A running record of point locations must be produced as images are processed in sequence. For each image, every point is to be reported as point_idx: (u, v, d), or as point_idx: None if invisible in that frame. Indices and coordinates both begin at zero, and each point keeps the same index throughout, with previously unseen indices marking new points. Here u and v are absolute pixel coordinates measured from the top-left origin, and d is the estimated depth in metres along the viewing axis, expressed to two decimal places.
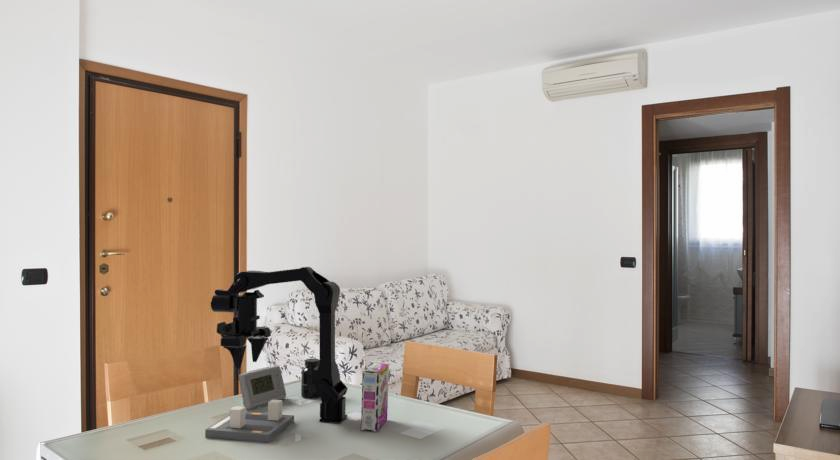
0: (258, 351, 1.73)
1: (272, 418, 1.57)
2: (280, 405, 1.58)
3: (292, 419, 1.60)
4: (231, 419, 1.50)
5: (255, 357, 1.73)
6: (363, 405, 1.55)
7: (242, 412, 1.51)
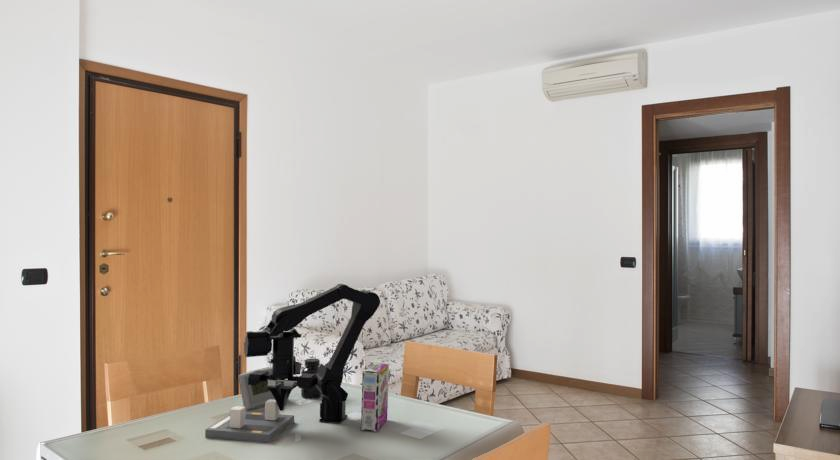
0: None
1: (269, 418, 1.57)
2: (277, 405, 1.58)
3: (292, 419, 1.60)
4: (231, 419, 1.50)
5: None
6: (363, 405, 1.55)
7: (242, 412, 1.51)
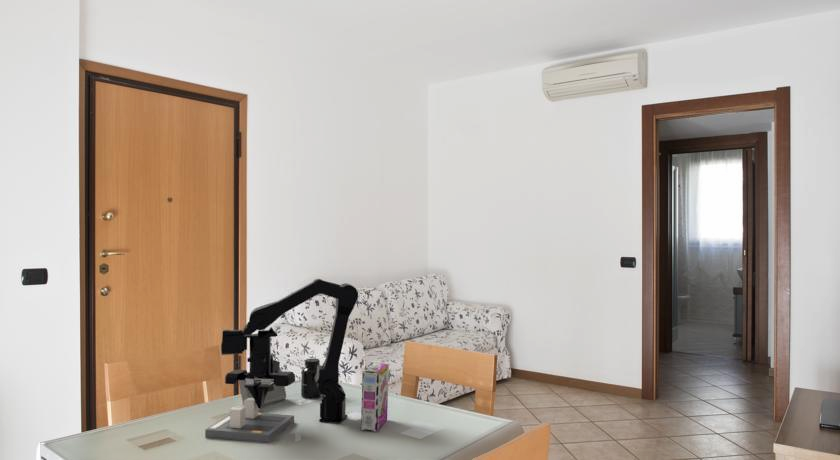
0: None
1: (248, 416, 1.58)
2: None
3: (292, 419, 1.60)
4: (231, 419, 1.50)
5: None
6: (363, 405, 1.55)
7: (242, 412, 1.51)
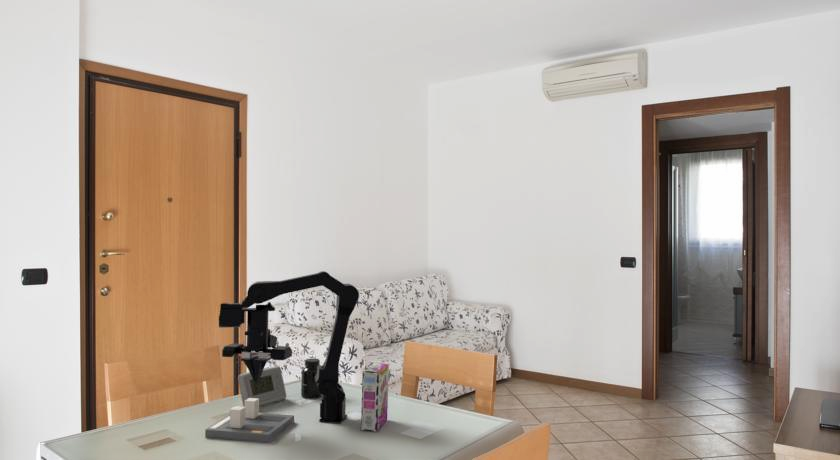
0: None
1: (248, 416, 1.58)
2: (257, 403, 1.59)
3: (292, 419, 1.60)
4: (231, 419, 1.50)
5: None
6: (363, 405, 1.55)
7: (242, 412, 1.51)
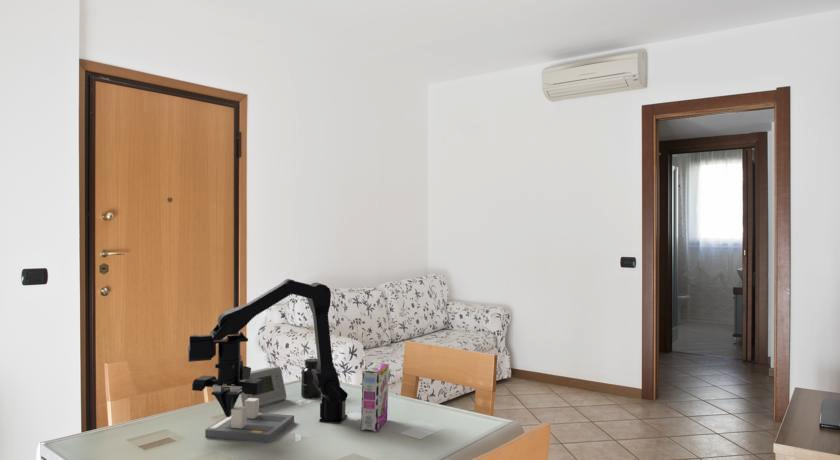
0: None
1: (248, 416, 1.58)
2: (257, 403, 1.59)
3: (292, 419, 1.60)
4: (232, 419, 1.50)
5: None
6: (363, 405, 1.55)
7: (243, 412, 1.51)
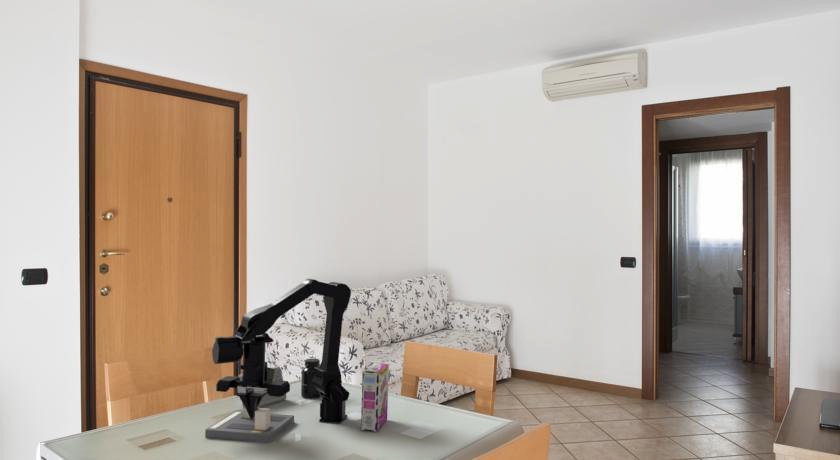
0: None
1: (248, 416, 1.58)
2: None
3: (292, 419, 1.60)
4: (256, 421, 1.49)
5: None
6: (363, 405, 1.55)
7: (267, 414, 1.50)
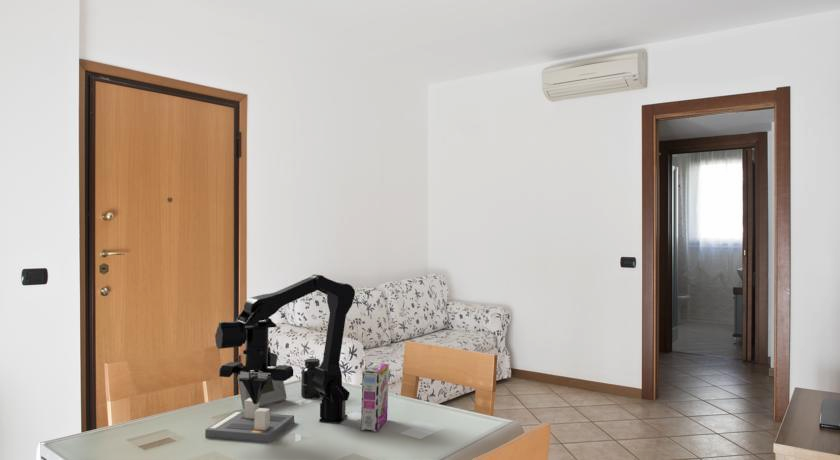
0: None
1: (248, 416, 1.58)
2: None
3: (292, 419, 1.60)
4: (256, 421, 1.49)
5: None
6: (363, 405, 1.55)
7: (267, 414, 1.50)
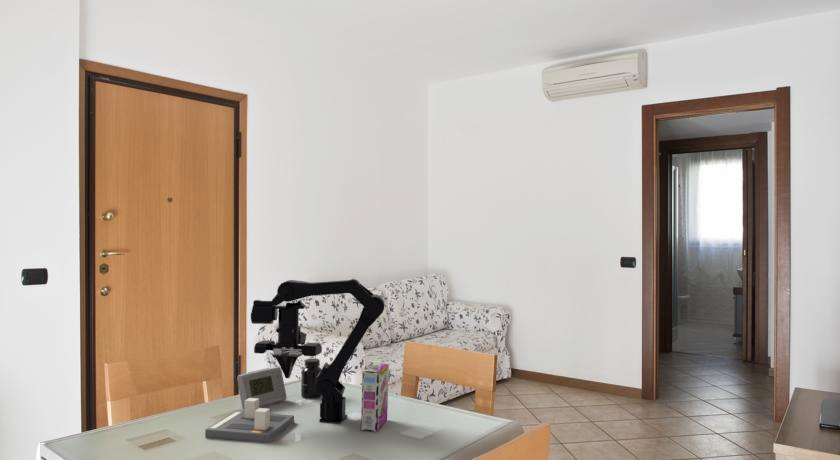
0: None
1: (248, 416, 1.58)
2: (257, 403, 1.59)
3: (292, 419, 1.60)
4: (256, 421, 1.49)
5: None
6: (363, 405, 1.55)
7: (267, 414, 1.50)
